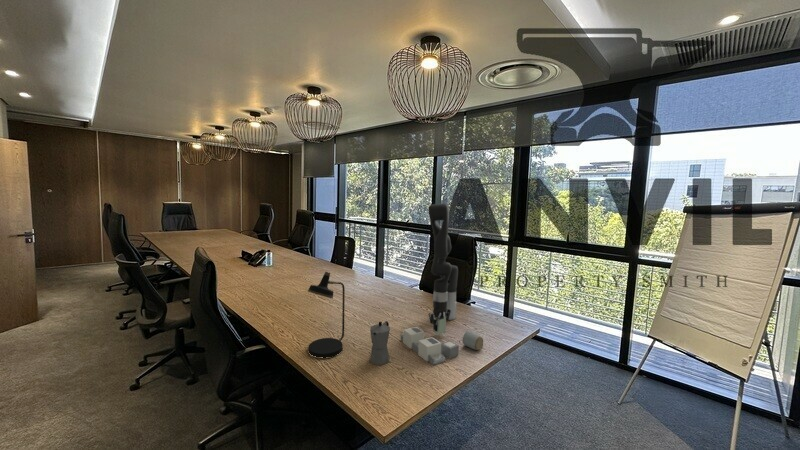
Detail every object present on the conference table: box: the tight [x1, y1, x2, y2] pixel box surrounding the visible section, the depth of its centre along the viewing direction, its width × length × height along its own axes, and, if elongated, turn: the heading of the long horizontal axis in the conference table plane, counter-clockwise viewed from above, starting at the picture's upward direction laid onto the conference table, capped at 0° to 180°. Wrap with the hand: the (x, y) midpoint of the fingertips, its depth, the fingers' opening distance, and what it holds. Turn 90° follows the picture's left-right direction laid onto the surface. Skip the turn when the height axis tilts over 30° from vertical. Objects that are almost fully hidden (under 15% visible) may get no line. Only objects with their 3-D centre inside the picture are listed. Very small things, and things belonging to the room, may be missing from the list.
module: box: [432, 317, 447, 335], centre depth 168 cm, size 4×5×8 cm
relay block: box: [441, 340, 460, 360], centre depth 150 cm, size 6×6×5 cm
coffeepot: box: [369, 320, 391, 366], centre depth 143 cm, size 15×9×18 cm, turn 159°
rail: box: [400, 333, 446, 366], centre depth 153 cm, size 7×28×3 cm, turn 31°
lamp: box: [307, 271, 346, 358], centre depth 150 cm, size 16×22×38 cm
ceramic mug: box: [461, 330, 484, 351], centre depth 158 cm, size 11×8×8 cm
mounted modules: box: [402, 326, 442, 362], centre depth 153 cm, size 8×20×7 cm, turn 31°
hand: (439, 329), depth 169 cm, fingers closed on module, 4 cm apart
